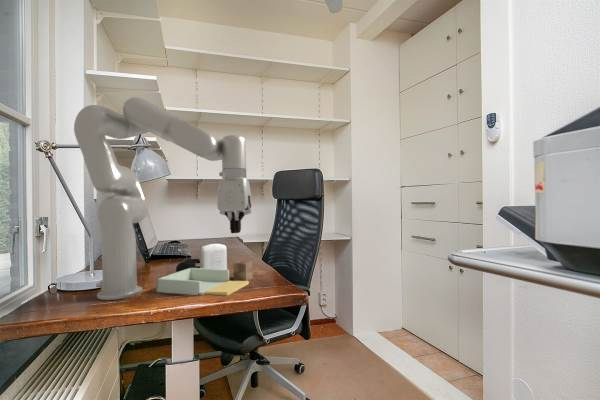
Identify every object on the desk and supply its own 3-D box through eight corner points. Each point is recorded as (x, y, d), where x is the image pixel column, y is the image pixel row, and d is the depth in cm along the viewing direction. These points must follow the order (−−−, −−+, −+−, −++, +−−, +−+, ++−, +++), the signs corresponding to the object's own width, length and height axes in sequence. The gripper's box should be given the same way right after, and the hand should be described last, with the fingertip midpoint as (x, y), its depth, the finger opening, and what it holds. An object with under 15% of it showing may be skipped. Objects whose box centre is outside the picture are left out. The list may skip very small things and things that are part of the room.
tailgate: (204, 292, 97) (227, 292, 95) (227, 280, 110) (248, 280, 108) (204, 296, 97) (227, 296, 95) (228, 284, 110) (249, 284, 108)
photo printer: (224, 272, 131) (224, 242, 131) (228, 274, 127) (228, 243, 127) (199, 276, 125) (198, 244, 125) (203, 278, 121) (202, 245, 121)
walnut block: (233, 282, 114) (233, 263, 114) (240, 279, 119) (240, 260, 119) (246, 283, 112) (245, 263, 112) (252, 280, 117) (252, 261, 117)
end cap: (182, 274, 130) (182, 257, 130) (200, 273, 131) (200, 256, 131) (175, 280, 120) (175, 262, 120) (195, 279, 121) (194, 261, 121)
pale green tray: (156, 294, 101) (155, 279, 101) (191, 281, 117) (190, 267, 117) (201, 298, 96) (200, 282, 96) (231, 284, 112) (230, 269, 112)
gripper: (207, 175, 101) (208, 233, 101) (250, 173, 96) (251, 234, 96) (220, 176, 108) (221, 231, 108) (260, 174, 103) (262, 232, 103)
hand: (235, 232), depth 102 cm, fingers closed
